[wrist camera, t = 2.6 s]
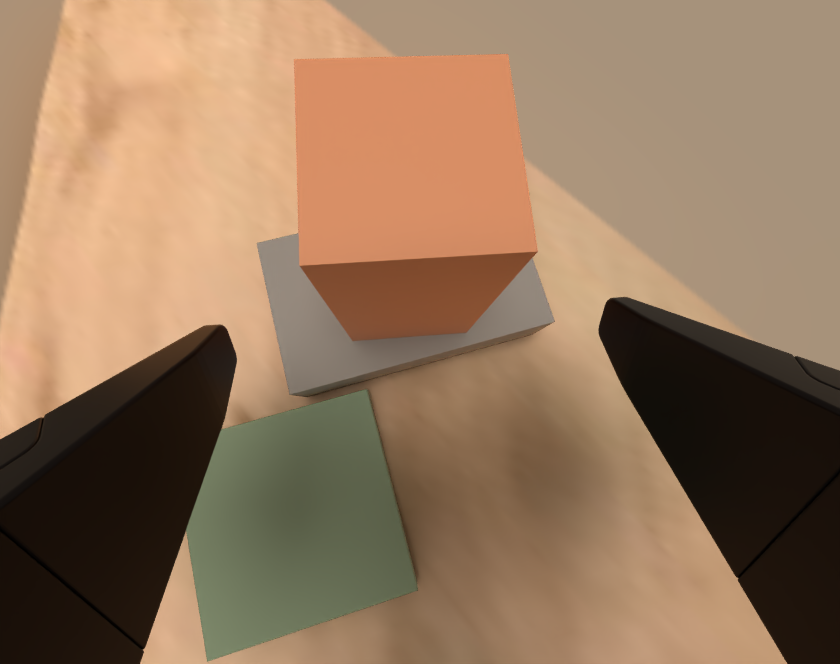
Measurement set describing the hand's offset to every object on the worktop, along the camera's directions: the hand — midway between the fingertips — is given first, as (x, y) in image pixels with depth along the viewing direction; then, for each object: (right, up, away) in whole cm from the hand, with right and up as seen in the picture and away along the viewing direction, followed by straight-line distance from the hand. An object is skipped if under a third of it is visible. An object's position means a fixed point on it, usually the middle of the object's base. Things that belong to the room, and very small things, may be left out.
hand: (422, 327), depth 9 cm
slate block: (-1, +2, +11) cm, 11 cm away
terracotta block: (-1, +2, +8) cm, 8 cm away
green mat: (-6, -8, +9) cm, 14 cm away
